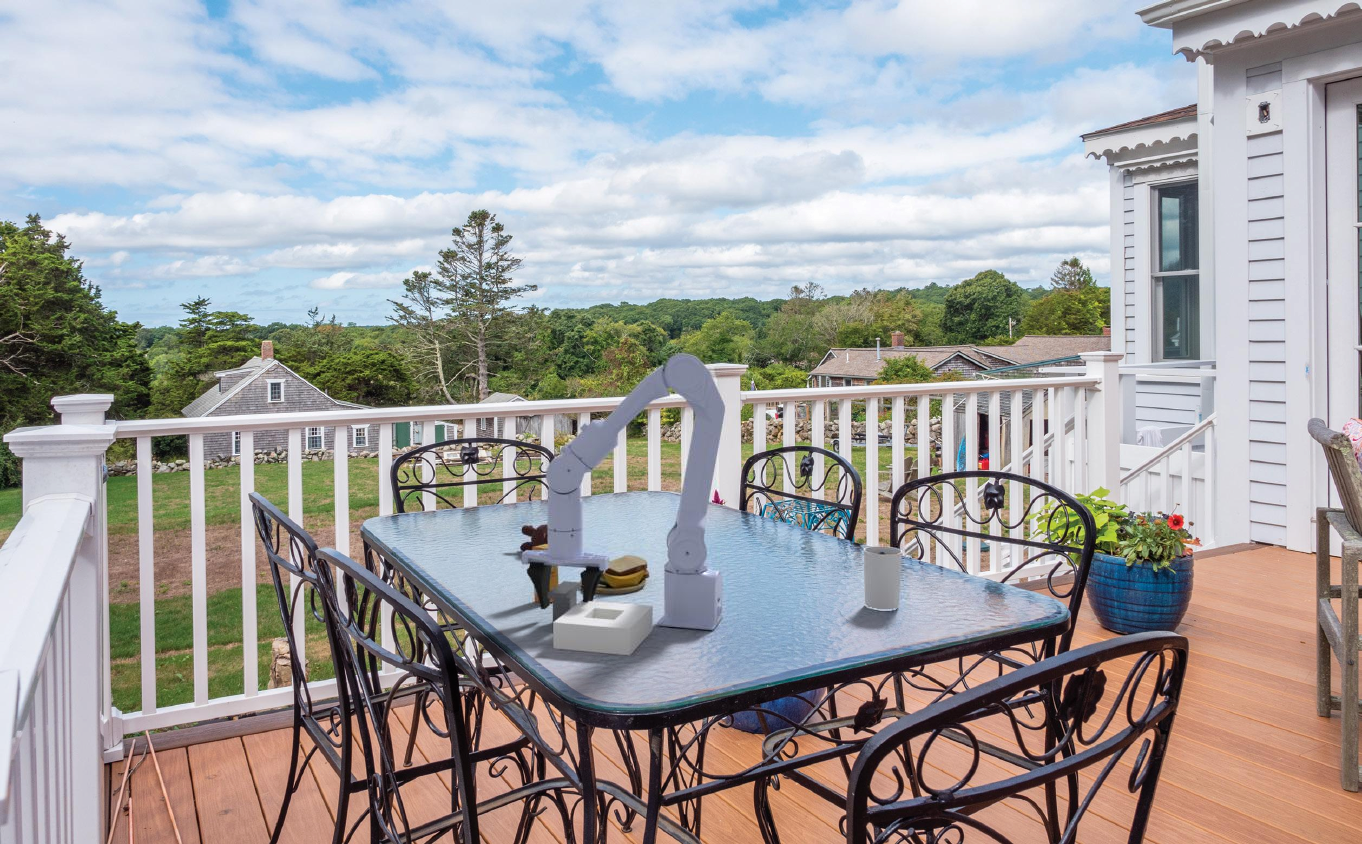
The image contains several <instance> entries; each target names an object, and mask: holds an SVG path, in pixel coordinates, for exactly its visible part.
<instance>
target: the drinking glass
mask: <svg viewBox="0 0 1362 844" xmlns="http://www.w3.org/2000/svg"><path fill="white" fill-rule="evenodd" d="M902 561H903V550H902V549H900V548H897V547H892V546H885V545H884V546H880V545H879V546H874V545H873V546H868V547H864V548H863V570H864V572H863V575H864V577H863V581H864V605H865V604H866V605H867V606H868V607H872V608H877V609H893V608H897V607H898V606H899V604H900V603H899V602H900V589H901V577H902V564H903V563H902ZM898 608H899V607H898Z"/></svg>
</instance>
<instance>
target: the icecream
mask: <svg viewBox="0 0 1362 844" xmlns="http://www.w3.org/2000/svg"><path fill="white" fill-rule="evenodd" d="M521 534H522V535H524V536H526V537H528V538H530V540H531V541H525V542H523V543H522V544H521V545H519V549H520V551H522V552H525V551H526V550H532V548H533V547H536V546H539V545H543V544H548V523H547V524H540V525H539V526H537V527H536V528H535V527H533V525H532V524H531V525H523V526H522V527H521Z"/></svg>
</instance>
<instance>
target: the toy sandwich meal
mask: <svg viewBox="0 0 1362 844" xmlns="http://www.w3.org/2000/svg"><path fill="white" fill-rule="evenodd" d="M649 578H650V572H649V570H648V562H647V560H646V559H645V558H642V557H640V556H636V555H632V554H631V555H630V554H625V555H624V556H621V557H619V558H618V557H617V558H615V559H613V560H609V568H608V569H607V570H605V571H604V573H603V575H602V577H601V579H600V581H599V583H598V586H597V588H596V591H595V594H605V595H617V594H627V593H632V592H635V591H639V590H640V589H642V588H643V587H644V585H646V583H647V579H649ZM579 582H581V586H582V581H581V580H580V581H579Z"/></svg>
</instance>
